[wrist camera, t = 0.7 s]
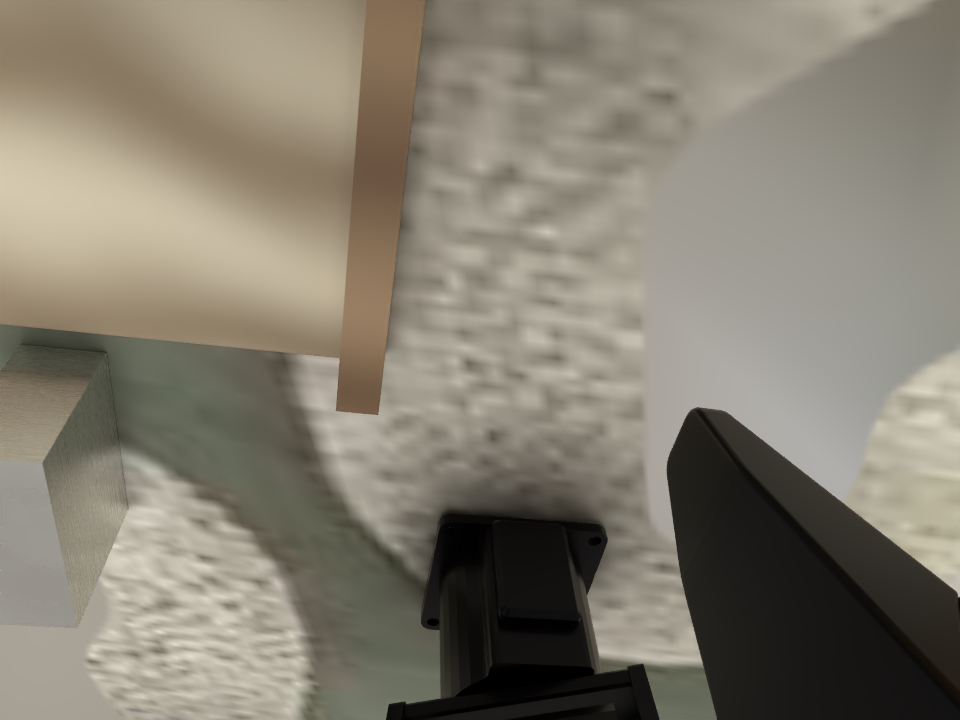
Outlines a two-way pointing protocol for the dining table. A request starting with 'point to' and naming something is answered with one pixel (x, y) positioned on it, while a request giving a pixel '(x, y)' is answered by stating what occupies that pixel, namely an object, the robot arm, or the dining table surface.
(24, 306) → the arena
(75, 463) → the bracket
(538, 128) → the dining table surface
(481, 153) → the dining table surface
